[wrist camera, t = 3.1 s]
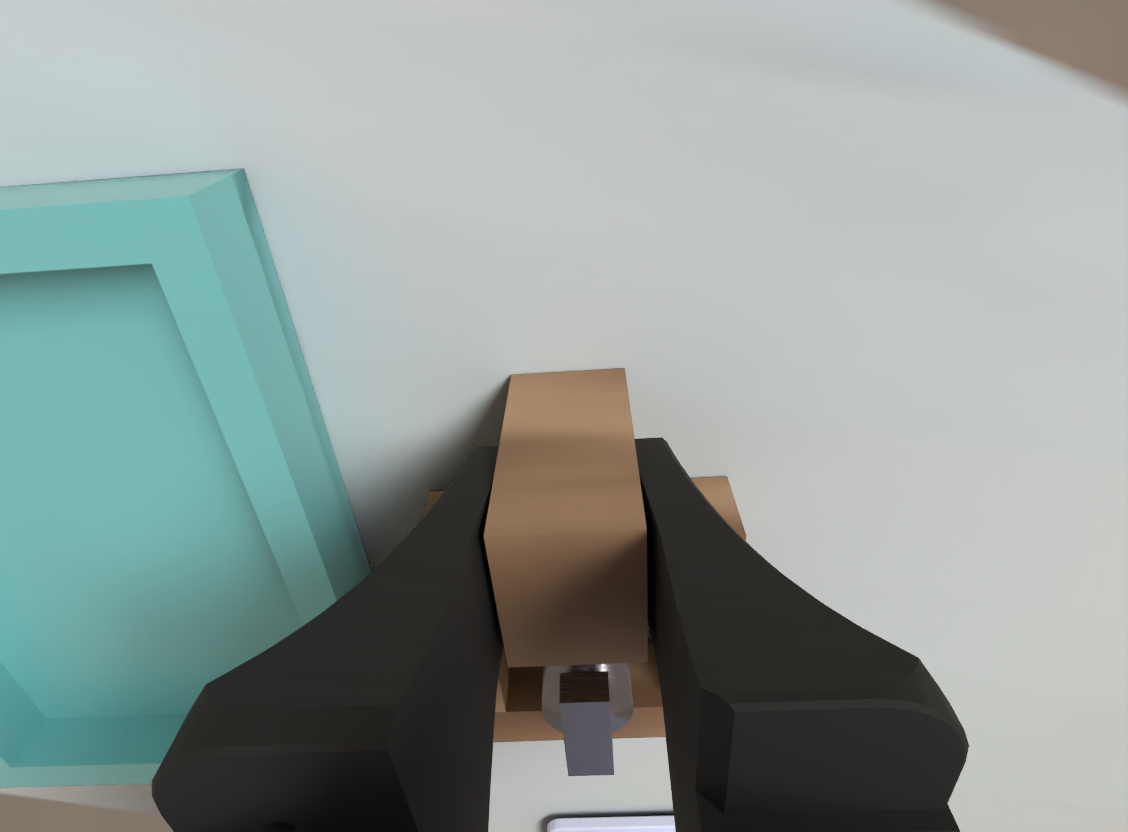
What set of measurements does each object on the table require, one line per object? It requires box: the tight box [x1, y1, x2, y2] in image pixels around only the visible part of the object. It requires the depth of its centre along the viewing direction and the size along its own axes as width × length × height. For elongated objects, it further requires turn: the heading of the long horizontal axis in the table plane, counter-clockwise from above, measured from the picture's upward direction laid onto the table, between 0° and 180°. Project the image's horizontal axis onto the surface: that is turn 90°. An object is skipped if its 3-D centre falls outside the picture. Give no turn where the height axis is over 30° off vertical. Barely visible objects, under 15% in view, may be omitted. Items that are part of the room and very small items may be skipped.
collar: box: [422, 368, 746, 742], centre depth 14 cm, size 10×7×5 cm
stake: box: [542, 663, 633, 776], centre depth 16 cm, size 3×2×4 cm
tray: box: [0, 168, 371, 788], centre depth 15 cm, size 16×12×2 cm
